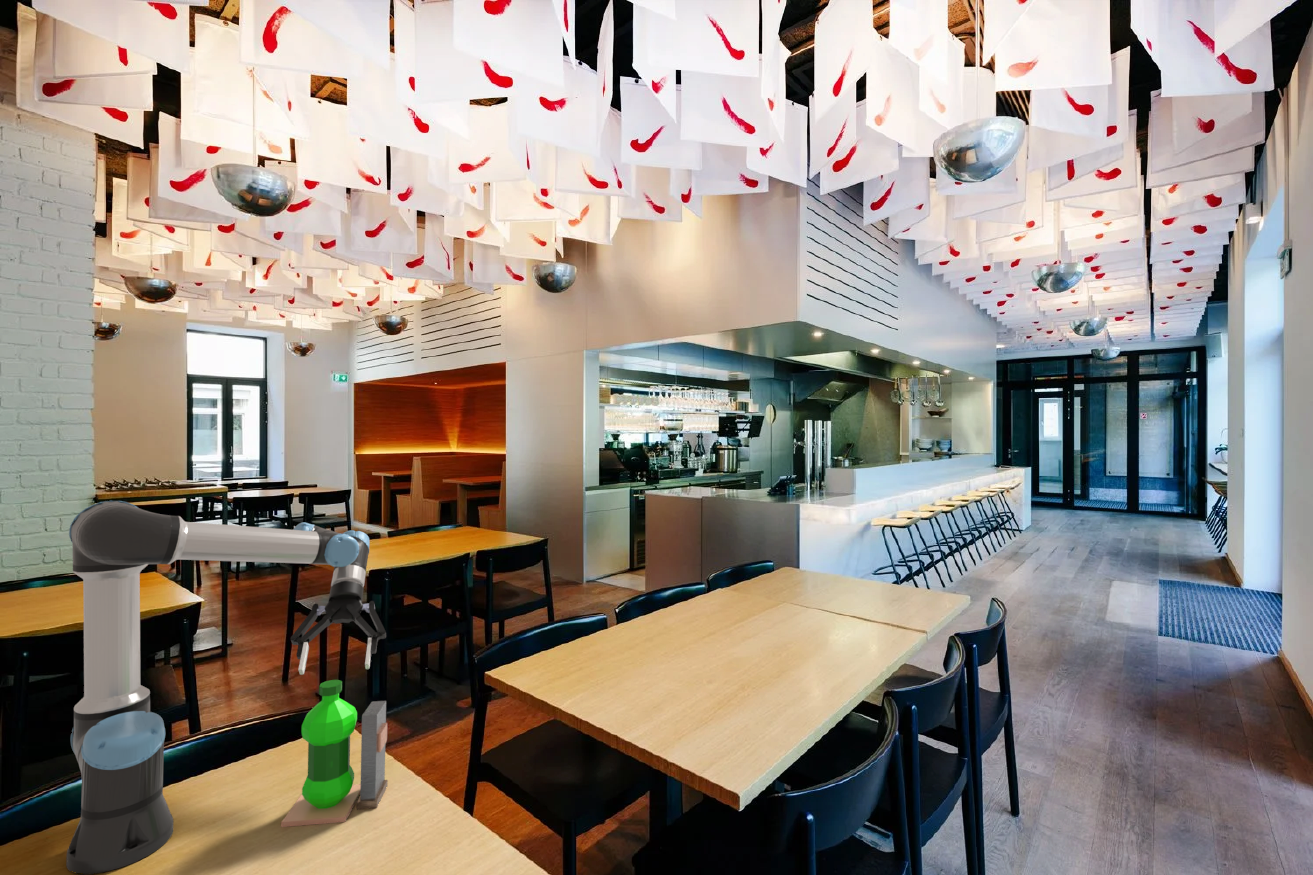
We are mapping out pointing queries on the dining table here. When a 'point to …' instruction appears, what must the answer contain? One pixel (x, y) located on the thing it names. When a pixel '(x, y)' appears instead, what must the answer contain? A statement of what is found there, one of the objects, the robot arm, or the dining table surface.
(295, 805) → the terracotta pad
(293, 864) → the dining table surface
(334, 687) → the plastic bottle
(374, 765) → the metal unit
